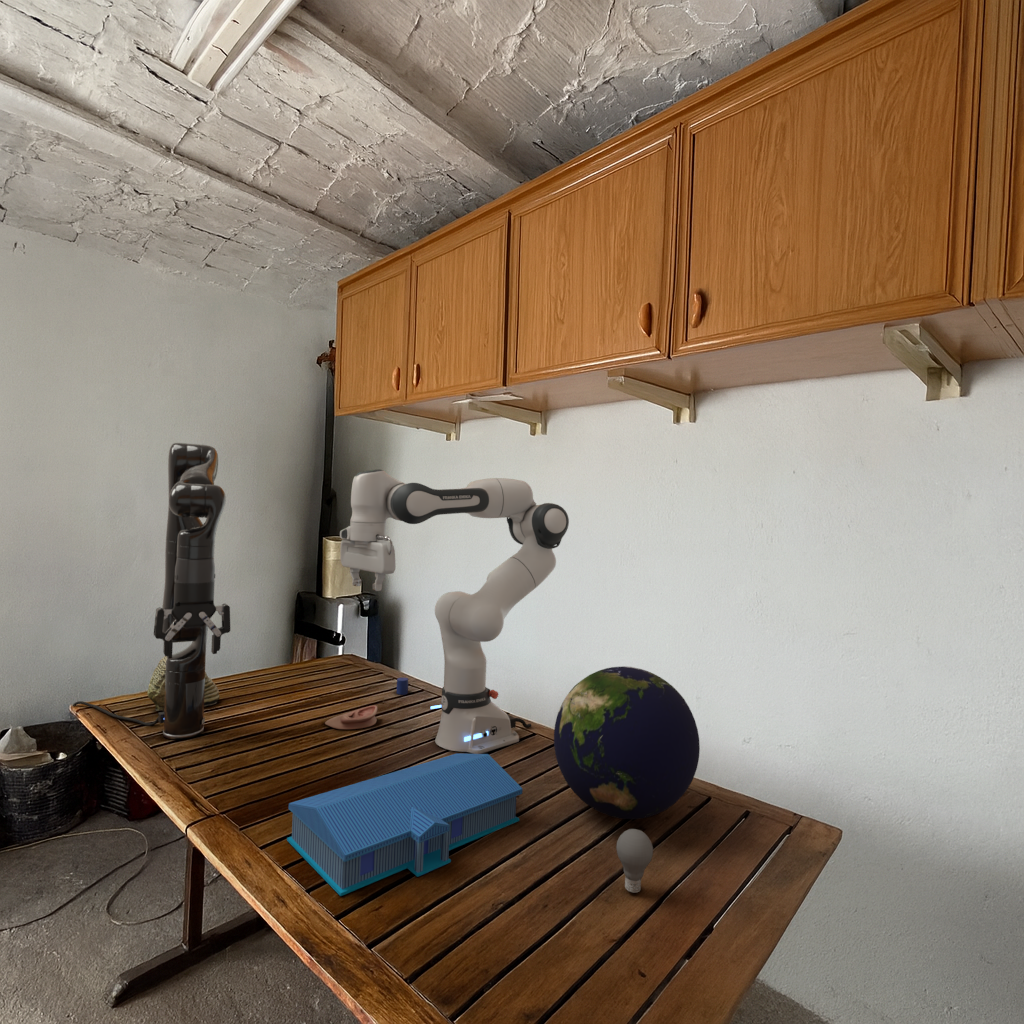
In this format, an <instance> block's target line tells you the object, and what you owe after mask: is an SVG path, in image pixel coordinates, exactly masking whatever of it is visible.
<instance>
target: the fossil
mask: <svg viewBox="0 0 1024 1024" xmlns="http://www.w3.org/2000/svg"><path fill="white" fill-rule="evenodd" d="M166 660H167V656H165V655H164V656H163V657H162V658H161V659H160V660H159V662H158V663H157V666H156V667H155V669H154V670H153V672H152V675H151V677H150V680H149V684H148V688H147V697H148V699H149V700H150V701H152V703H153V704H154V706H155V711H158V712H159V711H160V712H163V711H164V705H165V674H166ZM220 698H221V696H220V690H219V688H218V686H217V685H216V683H215V682H214V681H213V679H212V678H211V677H209V675H208V674H207V672H206V671H205V693H204V707H207V706H213V705H215V704H217V703H218V701H219V699H220Z"/></svg>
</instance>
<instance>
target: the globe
mask: <svg viewBox="0 0 1024 1024" xmlns="http://www.w3.org/2000/svg"><path fill="white" fill-rule="evenodd" d="M699 735H700V734H699V729H698V726H697V722H696V720H695V717H694V714H693V713H692V710H691V708H690V706H689V704H688V703H687V702H686V700H685V698H684V697H683V696H682V694H681V693H680V692H679V691H678V690H677V688H675V687H674V686H673V685H672V684H670V682H668V681H667V680H665V679H664V678H663V677H661V676H659V675H657V674H656V673H653V672H651V671H648V670H645V669H643V668H639V667H634V666H627V665H625V666H612V667H611V666H610V667H606V668H603V669H600V670H597V671H595V672H593V673H590V674H588V675H587V676H586V677H584V678H583V679H581V680H580V681H579V682H577V683H576V684H575V685H574V686H573V687H572V688H571V689H570V690H569V692H568V693H567V694H566V696H565V698H564V699H563V701H562V703H561V705H560V707H559V710H558V712H557V715H556V718H555V723H554V730H553V746H554V754H555V759H556V762H557V765H558V768H559V770H560V772H561V775H562V776H563V779H564V780H565V782H566V784H567V785H568V787H569V788H570V789H571V791H572V792H573V794H575V795H576V796H577V798H579V800H581V801H582V802H583V803H585V804H586V805H587V806H588V807H591V809H593V810H595V811H596V812H598V813H601V814H603V815H606V816H608V817H612V818H616V819H621V820H641V819H646V818H651V817H653V816H656V815H658V814H661V813H663V812H664V811H666V810H668V809H669V808H671V807H672V806H674V805H675V803H677V802H678V801H679V800H680V799H681V798H682V797H683V796H684V794H685V793H686V792H687V790H688V789H689V787H690V786H691V784H692V782H693V781H694V778H695V775H696V772H697V769H698V766H699V760H700V736H699Z"/></svg>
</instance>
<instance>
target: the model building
mask: <svg viewBox="0 0 1024 1024" xmlns="http://www.w3.org/2000/svg"><path fill="white" fill-rule="evenodd" d="M523 789H524V788H523V787H522V786H521V785H520V784H519V783H517V781H516V780H515V779H514V778H512V776H511V775H510V774H509V773H508V772H507V771H506V770H505V769H504V768H503V767H502V766H501V765H500V764H499V763H498V762H497V761H496V760H495V759H494V758H493V757H492V756H491V755H490V754H489V753H481V754H473V753H457V752H456V753H454V754H453V753H452V754H451V755H447V756H443V757H441V758H437V759H433V760H429V761H427V762H423V763H420V764H417V765H413V766H410V767H407V768H402V769H399V770H396V771H393V772H390V773H386V774H383V775H379V776H376V777H373V778H369V779H366V780H363V781H359V782H355V783H353V784H350V785H346V786H342V787H339V788H336V789H332V790H328V791H325V792H322V793H319V794H315V795H312V796H309V797H305V798H302V799H299V800H295V801H292V802H289V803H288V810H289V811H290V812H291V813H292V822H291V823H292V824H291V825H292V826H291V836H289V837H288V836H287V837H286V841H287V842H288V843H289V844H290V845H291V847H292V848H293V849H294V850H295V851H296V852H297V853H299V854H300V856H301V857H302V858H303V859H304V860H305V861H306V863H308V865H310V866H311V868H312V869H314V871H316V872H317V874H318V875H319V876H320V877H321V878H322V879H323V880H324V881H325V883H327V884H328V885H329V886H330V887H331V888H332V890H333V891H334V892H336V894H338V895H339V897H342V896H345V895H347V894H350V893H352V892H354V891H357V890H359V889H362V888H364V887H366V886H369V885H371V884H373V883H376V882H378V881H381V880H383V879H385V878H387V877H390V876H392V875H395V874H397V873H400V872H402V871H404V870H406V869H407V870H408V871H410V872H411V873H412V874H413V875H415V876H416V877H421V876H423V875H426V874H428V873H429V872H432V871H435V870H437V869H439V868H441V867H444V866H446V865H448V864H450V863H451V862H452V859H451V858H449V855H450V853H449V852H450V851H451V850H454V849H456V848H459V847H461V846H463V845H466V844H468V843H471V842H473V841H475V840H478V839H480V838H481V837H485V836H488V835H489V834H492V833H494V832H497V831H499V830H501V829H503V828H506V827H509V826H510V825H513V824H516V823H518V822H520V818H519V817H518V816H516V815H517V813H516V810H517V797H518V796H520V795H522V794H523V791H524V790H523Z"/></svg>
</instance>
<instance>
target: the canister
mask: <svg viewBox="0 0 1024 1024" xmlns="http://www.w3.org/2000/svg"><path fill="white" fill-rule="evenodd" d="M408 694H409V678H408V677H398V678H397V679H396V695H399V696H405V695H408Z"/></svg>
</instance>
